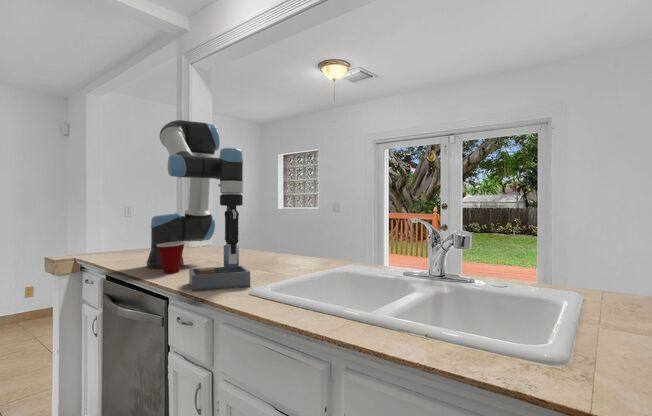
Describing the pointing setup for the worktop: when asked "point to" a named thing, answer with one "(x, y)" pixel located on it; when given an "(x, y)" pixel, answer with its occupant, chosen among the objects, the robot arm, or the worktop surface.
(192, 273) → the tote
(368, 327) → the worktop surface
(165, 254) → the plastic cup
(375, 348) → the worktop surface
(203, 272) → the walnut cube
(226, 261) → the slate cylinder
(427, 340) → the worktop surface
